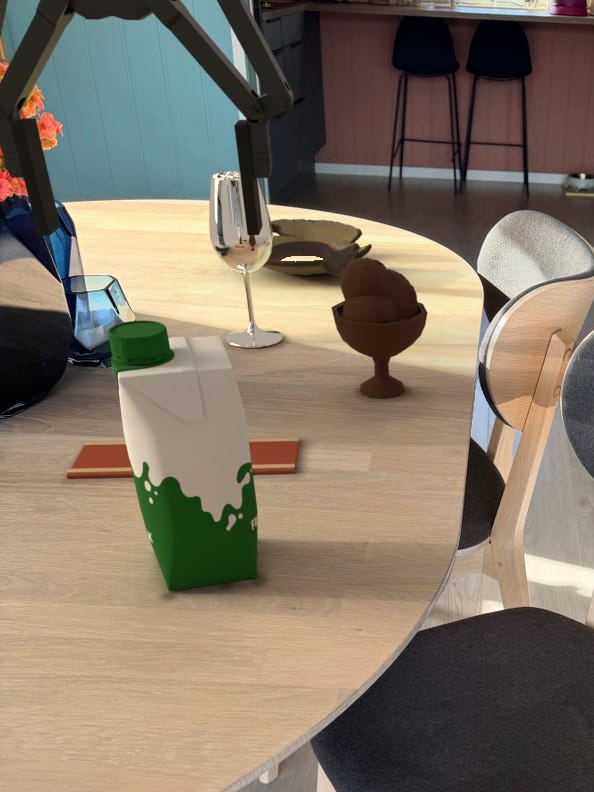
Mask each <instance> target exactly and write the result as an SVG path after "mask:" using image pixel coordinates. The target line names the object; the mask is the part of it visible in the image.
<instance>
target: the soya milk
mask: <svg viewBox="0 0 594 792" xmlns="http://www.w3.org/2000/svg"><path fill="white" fill-rule="evenodd" d="M107 337H108V341H109V345H110V351H111V360H110V361H111V369H112V372H113V375H114V378H115V381H116V388H117V389H116V390H117V392H118V395H119V405H120V413H121V421H122V429H123V436H124V441H126V446H127V450H128V455H129V460H130V464H131V469H132V473H133V477H132V478H133V483H134V486H135V487H134V488H135V492H136V495H137V499H138V501H137V502H138V505H139V509H140V513H141V517H142V520H143V523H144V528H145V531H146V534H147V536H148V539H149V542H150V545H151V548H152V550H153V553H154V555H155V558H156V560H157V563H158V566H159V569H160V571H161V574H162V576H163V580H164V581H165V584H166V587H167V589H168V592H173V591H180V590H186V589H192V588H193V589H194V588H199V587H205V586H210V585H217V584H218V585H219V584H224V583H231V582H236V581H243V580H249V579H255V578H257V577H258V531H259V530H258V526H259V525H258V523H259V521H258V519H259V517H258V516H259V515H258V503H257V495H256V486H255V481H254V479H255V478H254V474H253V471H252V463H251V456H250V448H249V441H248V438H249V435H248V433H249V432H248V428H247V420H246V413H245V408H244V404H243V401H242V397H241V393H240V389H239V386H238V383H237V379H236V375H235V371H234V368H233V365H232V363H231V361H230V358H229V355H228V352H227V350H226V348H225V345H224V342H223V341H222V338H221V335H209V336H198V337H187V336H184V335H183V336H181V335H180V336H172V337H169V336H168V329H167V326H166V325H165V324H164V323H162V322H159V321H155V320H142V319H141V320H131V321H124V322H120V323H117V324H115V325H112V326H111V327H109V328H108V330H107Z"/></svg>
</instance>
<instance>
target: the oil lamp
mask: <svg viewBox="0 0 594 792" xmlns="http://www.w3.org/2000/svg"><path fill="white" fill-rule="evenodd" d="M270 221H271V226H272V231H273V234H277V235H273V249H272V253H271V255H270V257H269V259H268V261H267V262H266V263H265V264H264V265H263V266H262V267H263V268H264V269H265V268H266V269H269V270H271V271H274V272H278V273H282V272H283V273H282V274H287V275H294V276H296V274H317V275H324V274H329V275H331V276H333V277H339V276H340V277H341V274H342V272H343V271H344V269H345V268H346V267H347V265H348V264H349V263H350V262H352V261H355V260H357V259H361V258H365V256H366V255H368V253H369V252H370V251H371V250H372V248H373V247H372V244H371V243H369V244H367V245H364V246H360V245H359V243H358V242H357V241H358V240H359V239H360V238H361V237H362V235H363V232H362V230H361V229H360V228H358V227H355V226H354V225H351V224H347V223H343V222H340V221H334V220H328V219H327V220H326V219H305V218H298V219H296V218H292V219H287V218H280V219H275V220H270ZM291 256H316V257H320V258H323V260H314V261H296V262H295V261H281V260H282V259H284V258H286V257H291ZM288 273H290V274H288Z"/></svg>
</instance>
